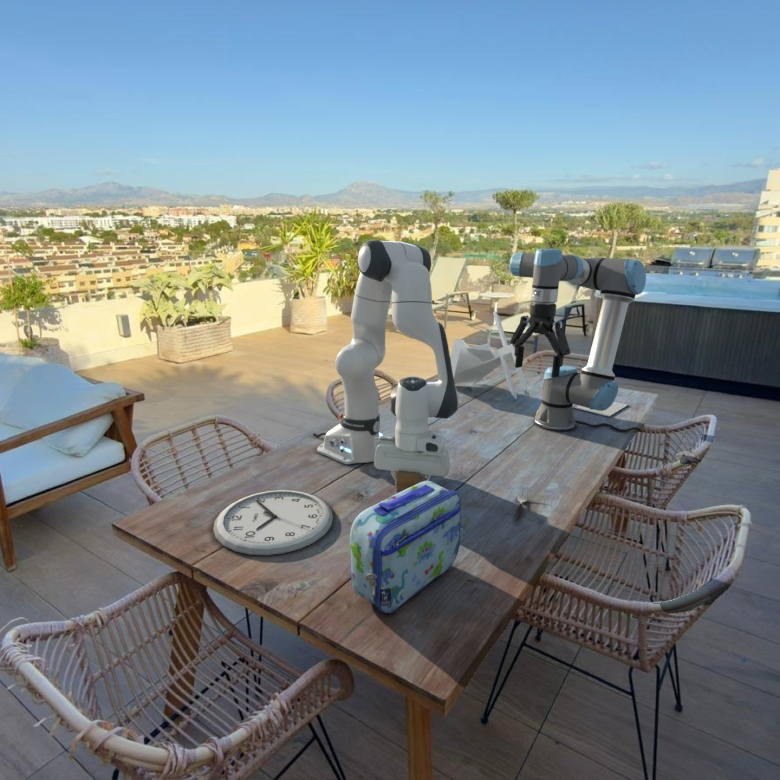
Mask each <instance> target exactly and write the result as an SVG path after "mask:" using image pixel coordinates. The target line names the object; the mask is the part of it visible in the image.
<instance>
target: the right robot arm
mask: <svg viewBox="0 0 780 780" xmlns="http://www.w3.org/2000/svg"><path fill="white" fill-rule="evenodd" d="M508 269H509V272H510V273H511V275H512V276H514V277H519V278H532V285H531V295H530V301H531V303H530V304H529V312H528V313H529V315H522V316H520V319H519V323H518V325H517V328H516V329H515V331H514V333H513V334H512V336H511V338H510V340H509V343H510V344H512V345H513V346H514V348H515V354H514V355H515V356H516V362H515V363H514V367H515V369H516V368H519V367H521V368H523V363H524V355H525V346H524V344H525V343H526V342H527V341H528V340H529V339H530V338H531V337H532V336H533V334H539V335H541V336H543V335H544V336H545V338H547V340H548V342H549V344H550V346H551V348H552V349H553V351H554V353H555V355H553V359H552V366H550V367H547V368H546V369H545V371H544V375H543V381H542V382H543V383H542V394H541V402H540V405H539V407H538V409H537V411H536V413H535V417H534V424H535V425H536V426H537V427H539V428H542V429H544V430H549V431H556V432H567V431H572V430H574V429H575V428H576V424H578V425H582V426H587V427H590V428H598V427H608V428H611V429H613V430H615V431H617V432H622V433H627V432H631V431H633V430H634V431H635V430H636V431H637V432H640V433H643V430H642V429H641V428H639V427H637V426H632V427H630V428H625V429H624V428H618V427H617V426H614V425H612V424H610V423H607V422H602V423H597V424H593V423H592V424H591V423H588V422H584V421H580V420H577V419H576V418H575V417H576V416H575V413H574V407H573V405H575V406H578V405H579V406H583V407H587V408H590V409H594V410H599V411H604V410H606V409H608V408H609V407H610V406H611V405H612V403H613V402H615V400H616V398H617V396H618V393H619V383H618V382H617V380H615V377H616V374H615V373H614V372H613V368H614V363H615V359H616V355H617V351H618V348H619V344H620V339H621V336H622V332H623V327H624V324H625V320H626V315H627V313H628V308H629V304H631V303H633V302H634V301H635V299H636V296H638V295H641V294H642V293H643V291H644V289H645V286H646V283H647V271H646V268H645V264H644V263H643V262H642V261H641V260H638V259H632V258H617V257H616V258H615V257H589V258H581V257H580V256H578V255H575V254H563V251H562V249H560V248H538V249H537V250H536V251H535V253H532V252H524V251H523V252H516V253H514V254H512V256H511V257H510V260H509V267H508ZM560 282H567V283H568V284H570V285H573V286H578V287H582V288H585V289H589V290H594V291H600V293H599V296H600V297H601V299H602V303H601V307H600V311H599V315H598V319H597V324H596V328H595V331H594V335H593V340H592V343H591V348H590V352H589V356H588V360H587V364H586V366H584V367H583V368H581V370H580V372H578V368H577V367H576V366H571V365H563V364H564V357H565V356H568V355H570V354H571V349H570V346H569V342H568V339H567V336H566V332H565V328H564V327H565V323H564V321H555V317H556V315H557V314H556V313H557V304H556V303H557V302H558V298H559V297H558V295H559V285H560ZM528 324H529V326H528ZM527 326H528V327H527ZM526 328H527V329H526ZM524 331H525V332H524Z"/></svg>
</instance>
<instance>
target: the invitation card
mask: <svg viewBox="0 0 780 780" xmlns="http://www.w3.org/2000/svg"><path fill="white" fill-rule="evenodd" d="M628 406H629V404H627V403H623V402H618V401H614V402H613V403H612V405H611V406H610V407H609V408H608V409H606V410H604V411H599V410H594V409H590V408H587V407H583V406H579V405H575V406H574V407H573V409H575V410H581V411H584V412H587V413H593V414H596V415H600V416H604V417H608V418H609V417H611V416H613V415H614V414H616V413H617V412H619V411H621V410H623V409H624V408H626V407H628Z"/></svg>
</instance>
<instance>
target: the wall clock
mask: <svg viewBox="0 0 780 780" xmlns="http://www.w3.org/2000/svg"><path fill="white" fill-rule="evenodd" d="M333 520H334V516H333V511H332V509H331V507H330V506H329V505H328V503H327V502H325V501H324V500H322V499H321V498H320V497H318V496H315V495H313V494H310V493H307V492H303V491H298V490H287V489H286V490H285V489H280V490H279V489H277V490H267V491H262V492H258V493H257V492H256V493H253V494H250V495H247V496H245V497H241V498H240V499H238V500H236V501H234V502H233V503H230V504H229V505H228V506H227V507H225V508H224V509H223V510H222V511H220V512H219V513H218V516H217V517H216V518H215V519H214V523H213V529H212V530H213V533H214V536H215V540H217V541H218V542H219V543H220V544H221V545H222V546H223V547H225V548H227V549H229V550H231V551H233V552H236V553H241V554H244V555H249V556H250V555H251V556H252V555H253V556H273V555H281V554H282V555H283V554H286V553H292V552H294V551H299V550H301V549H304V548H305V547H307V546H310V545H312V544H314V543H316V542H317V541H319V540H320V539H321V538H323V537H324V536H325V535H326V534H327V533H328V532H329V530H330V529H331V527H332V525H333Z"/></svg>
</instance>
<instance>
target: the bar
mask: <svg viewBox="0 0 780 780" xmlns="http://www.w3.org/2000/svg"><path fill="white" fill-rule="evenodd" d="M425 479H426V478H425V475H424V474H421V473H417V472H409V471H400V470H399V472H398V471H397V485H396V494H397V493H399V492H401V491H403V490H405V489H408V488H410V487H412V486H414V485H416V484H419V483H421V482H422V480H425Z"/></svg>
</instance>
